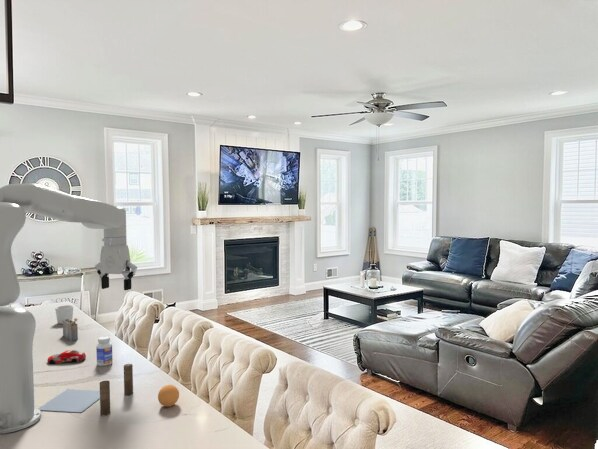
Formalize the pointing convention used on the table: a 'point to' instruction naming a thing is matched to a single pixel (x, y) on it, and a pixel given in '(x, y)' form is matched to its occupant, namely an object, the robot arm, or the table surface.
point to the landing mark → (72, 401)
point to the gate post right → (128, 379)
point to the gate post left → (104, 398)
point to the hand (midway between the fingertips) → (116, 288)
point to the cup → (64, 313)
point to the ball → (168, 395)
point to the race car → (67, 357)
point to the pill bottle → (104, 351)
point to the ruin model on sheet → (70, 329)
